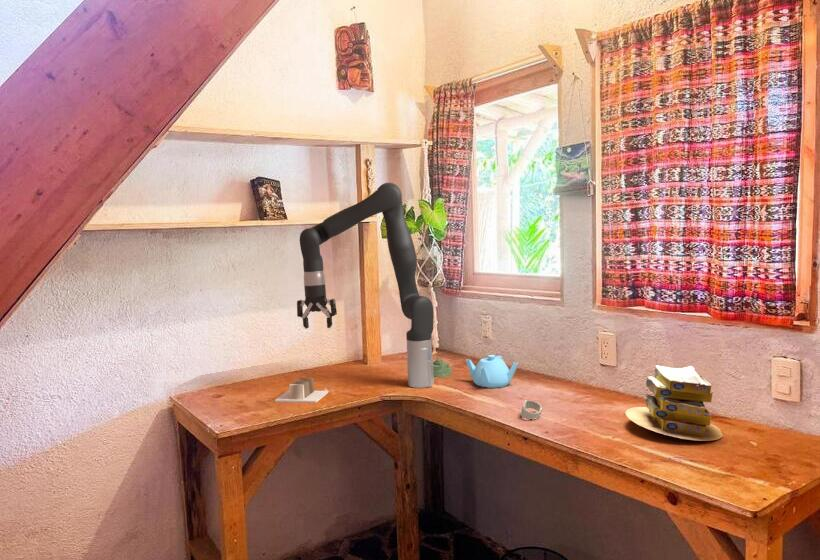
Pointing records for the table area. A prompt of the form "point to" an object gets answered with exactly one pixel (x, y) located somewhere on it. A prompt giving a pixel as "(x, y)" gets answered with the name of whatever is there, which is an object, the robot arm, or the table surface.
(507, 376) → the teapot
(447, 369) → the decorative artifact
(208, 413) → the table surface
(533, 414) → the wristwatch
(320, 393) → the white mat
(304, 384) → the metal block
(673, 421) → the stacked boxes on plate
